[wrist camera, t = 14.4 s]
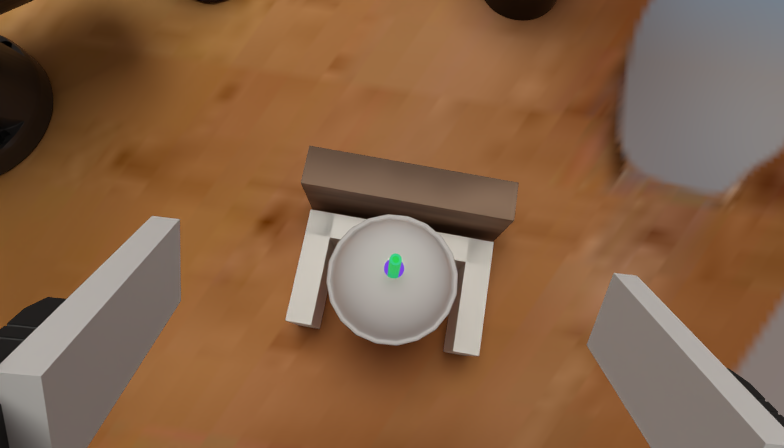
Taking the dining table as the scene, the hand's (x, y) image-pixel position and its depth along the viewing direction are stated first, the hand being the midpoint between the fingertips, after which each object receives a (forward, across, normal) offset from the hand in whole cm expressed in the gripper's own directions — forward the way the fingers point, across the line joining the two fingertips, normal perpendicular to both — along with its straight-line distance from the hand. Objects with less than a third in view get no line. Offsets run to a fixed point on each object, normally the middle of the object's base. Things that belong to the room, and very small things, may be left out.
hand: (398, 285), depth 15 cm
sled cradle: (+26, +3, -16) cm, 31 cm away
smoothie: (+26, +3, -16) cm, 31 cm away
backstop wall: (+30, +4, -10) cm, 32 cm away
